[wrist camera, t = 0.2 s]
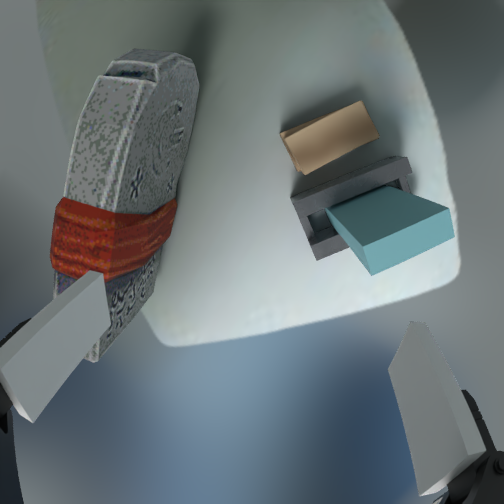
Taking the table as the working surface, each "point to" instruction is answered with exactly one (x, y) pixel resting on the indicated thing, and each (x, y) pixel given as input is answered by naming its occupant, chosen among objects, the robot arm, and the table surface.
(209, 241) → the table surface
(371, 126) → the block
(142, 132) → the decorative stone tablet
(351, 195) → the board rack
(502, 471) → the robot arm
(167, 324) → the table surface
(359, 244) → the teal board
